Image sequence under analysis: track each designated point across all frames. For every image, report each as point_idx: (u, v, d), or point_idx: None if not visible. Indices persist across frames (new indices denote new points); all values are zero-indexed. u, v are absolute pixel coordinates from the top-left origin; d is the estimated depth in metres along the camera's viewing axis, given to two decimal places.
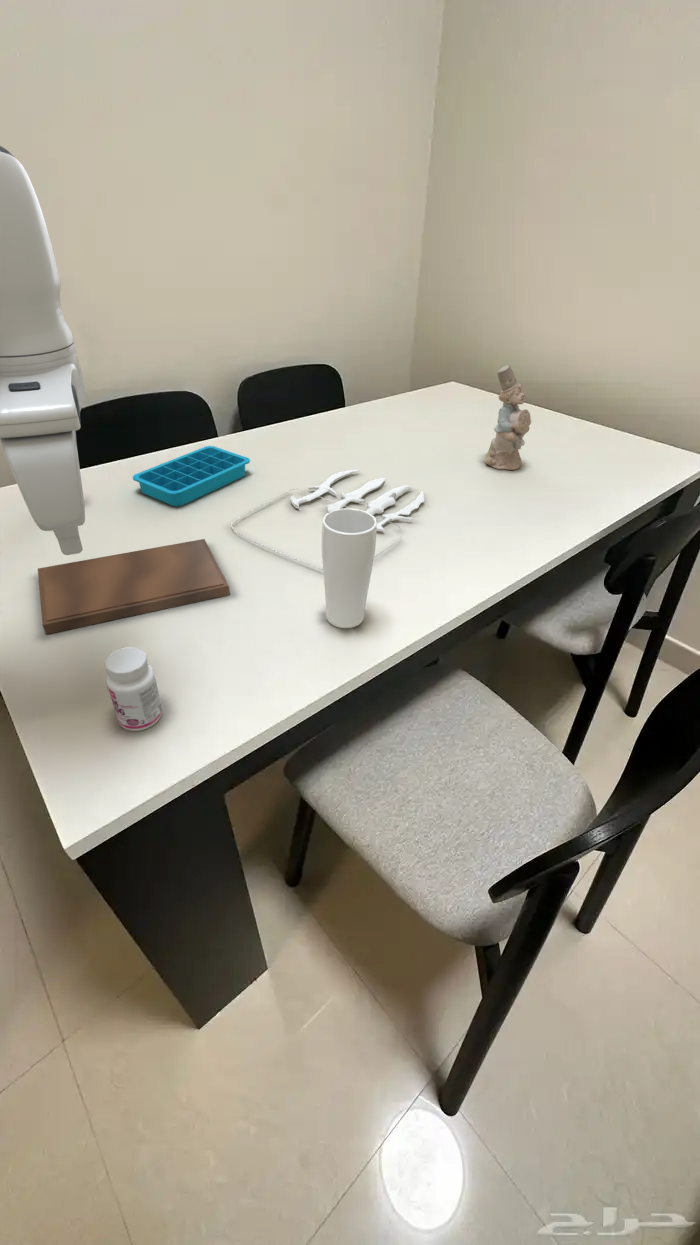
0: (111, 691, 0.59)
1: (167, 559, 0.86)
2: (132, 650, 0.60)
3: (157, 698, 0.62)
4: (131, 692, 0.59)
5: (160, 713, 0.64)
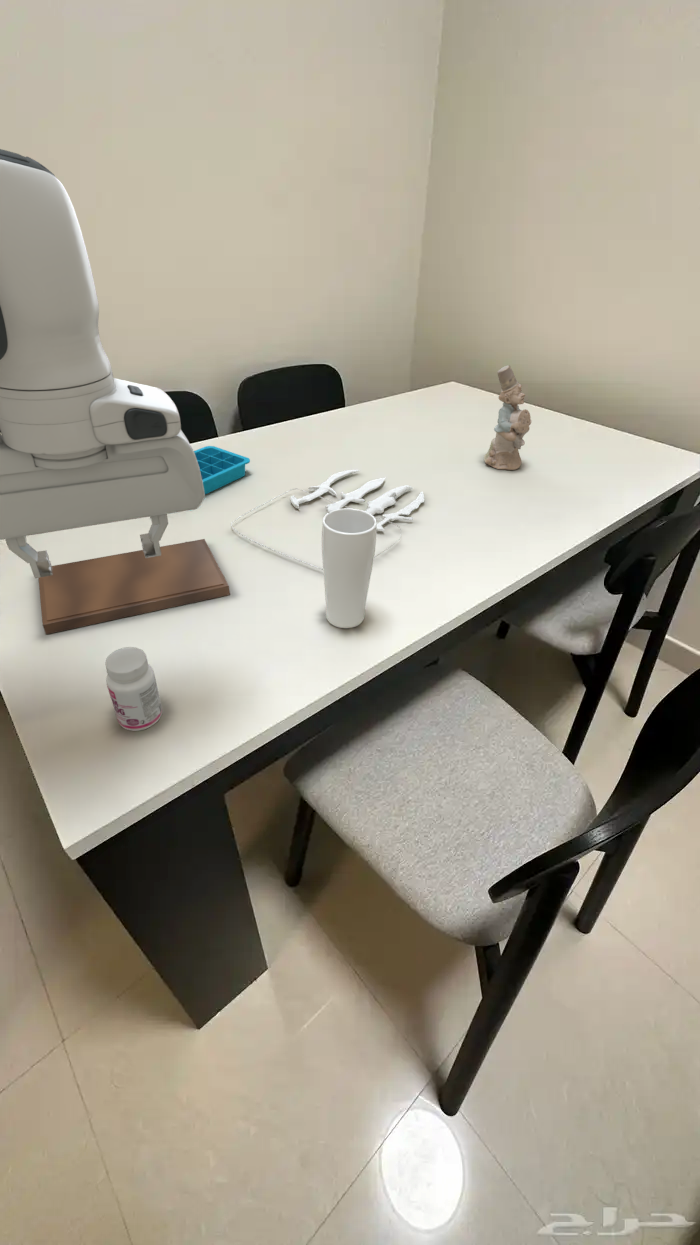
0: (111, 691, 0.59)
1: (167, 559, 0.86)
2: (132, 650, 0.60)
3: (157, 698, 0.62)
4: (131, 692, 0.59)
5: (160, 713, 0.64)
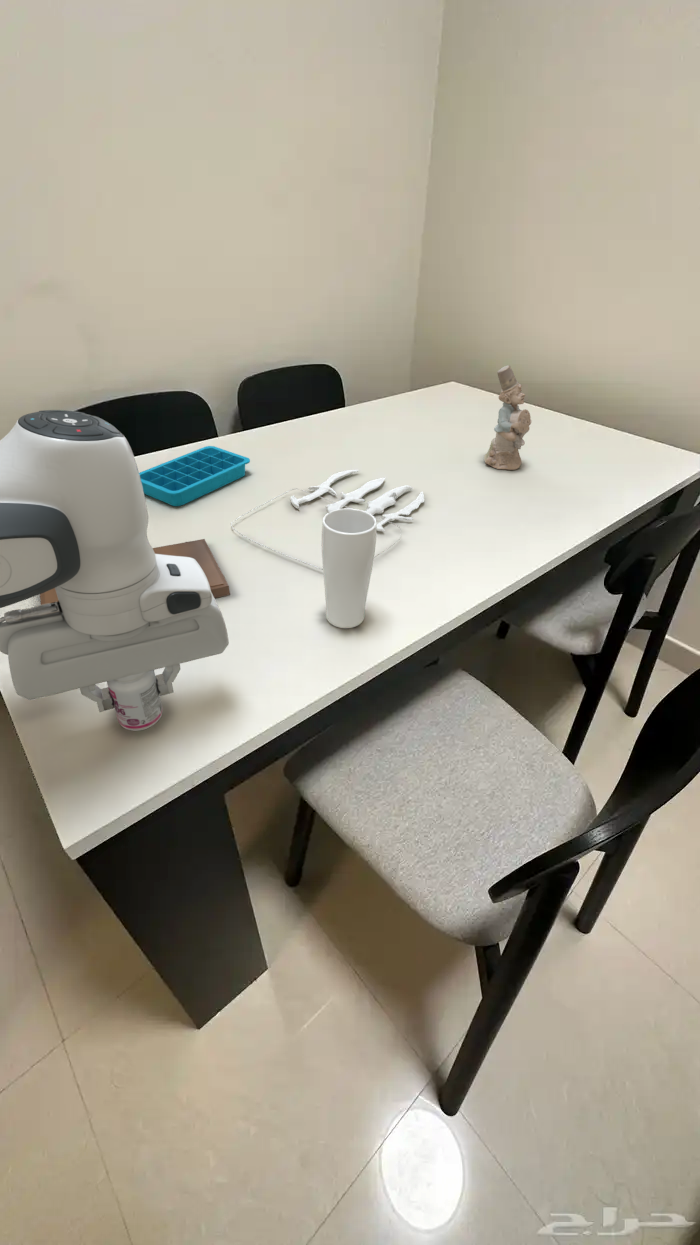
0: (112, 691, 0.59)
1: None
2: None
3: (157, 698, 0.62)
4: (132, 692, 0.59)
5: (161, 713, 0.64)
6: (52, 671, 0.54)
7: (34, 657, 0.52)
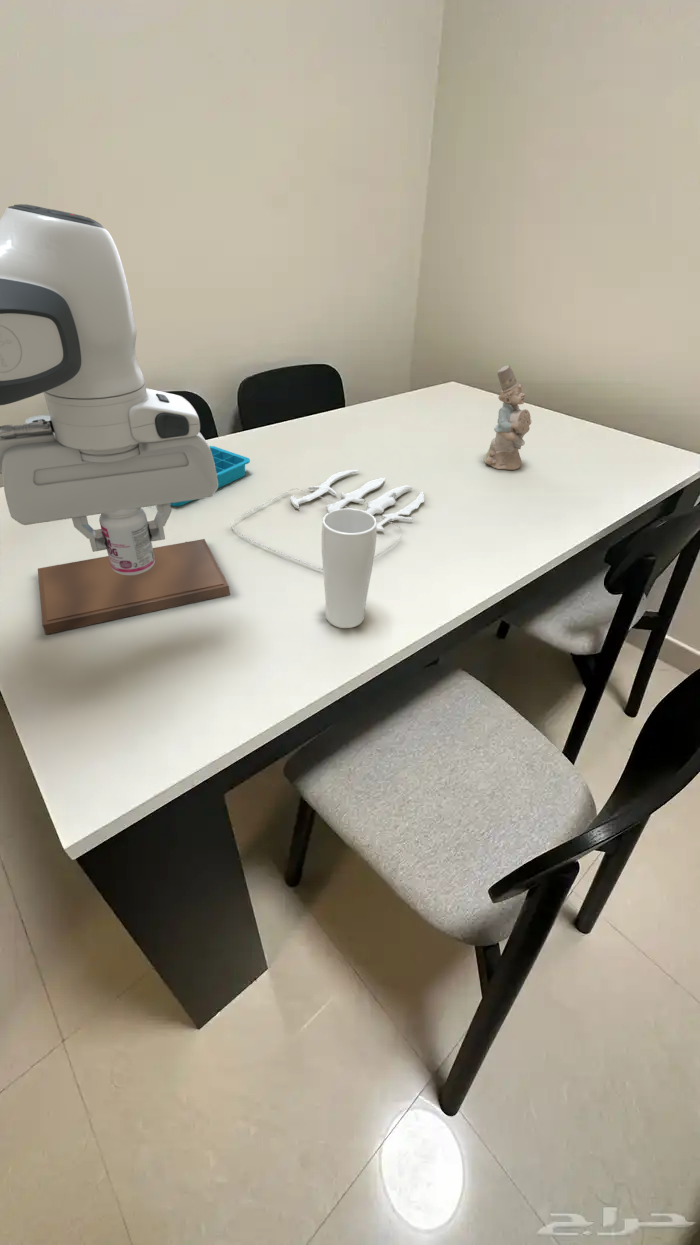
0: (104, 528, 0.60)
1: (167, 559, 0.86)
2: None
3: (149, 543, 0.64)
4: (124, 528, 0.60)
5: (153, 561, 0.65)
6: (45, 494, 0.55)
7: (27, 475, 0.54)
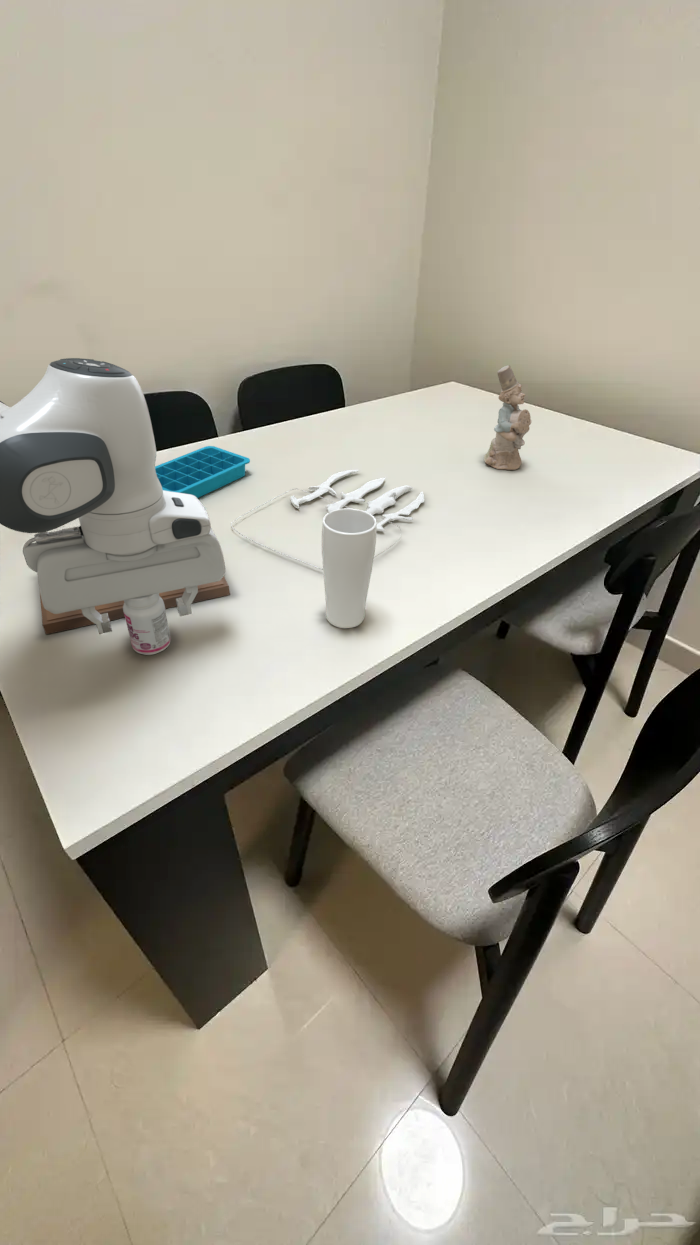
0: (127, 617, 0.68)
1: None
2: None
3: (166, 626, 0.72)
4: (145, 617, 0.68)
5: (169, 640, 0.73)
6: (74, 588, 0.63)
7: (59, 574, 0.61)
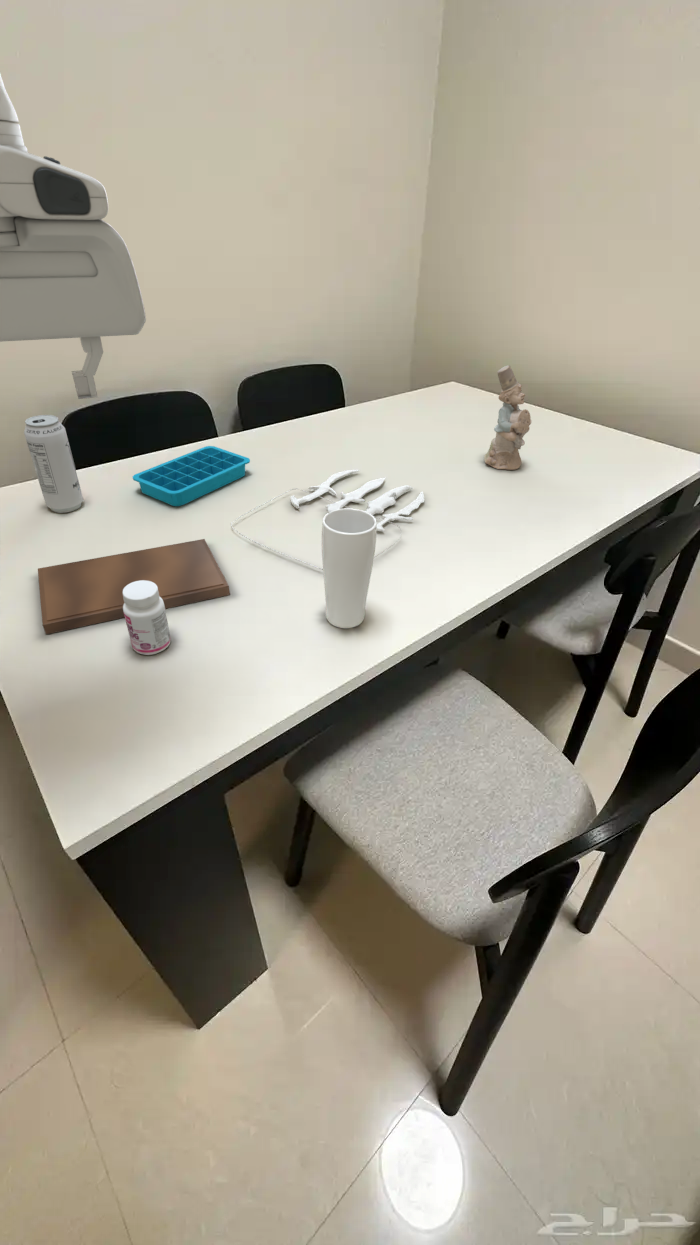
0: (127, 617, 0.68)
1: (167, 559, 0.86)
2: (145, 582, 0.69)
3: (166, 626, 0.72)
4: (145, 617, 0.68)
5: (169, 640, 0.73)
6: None
7: None
